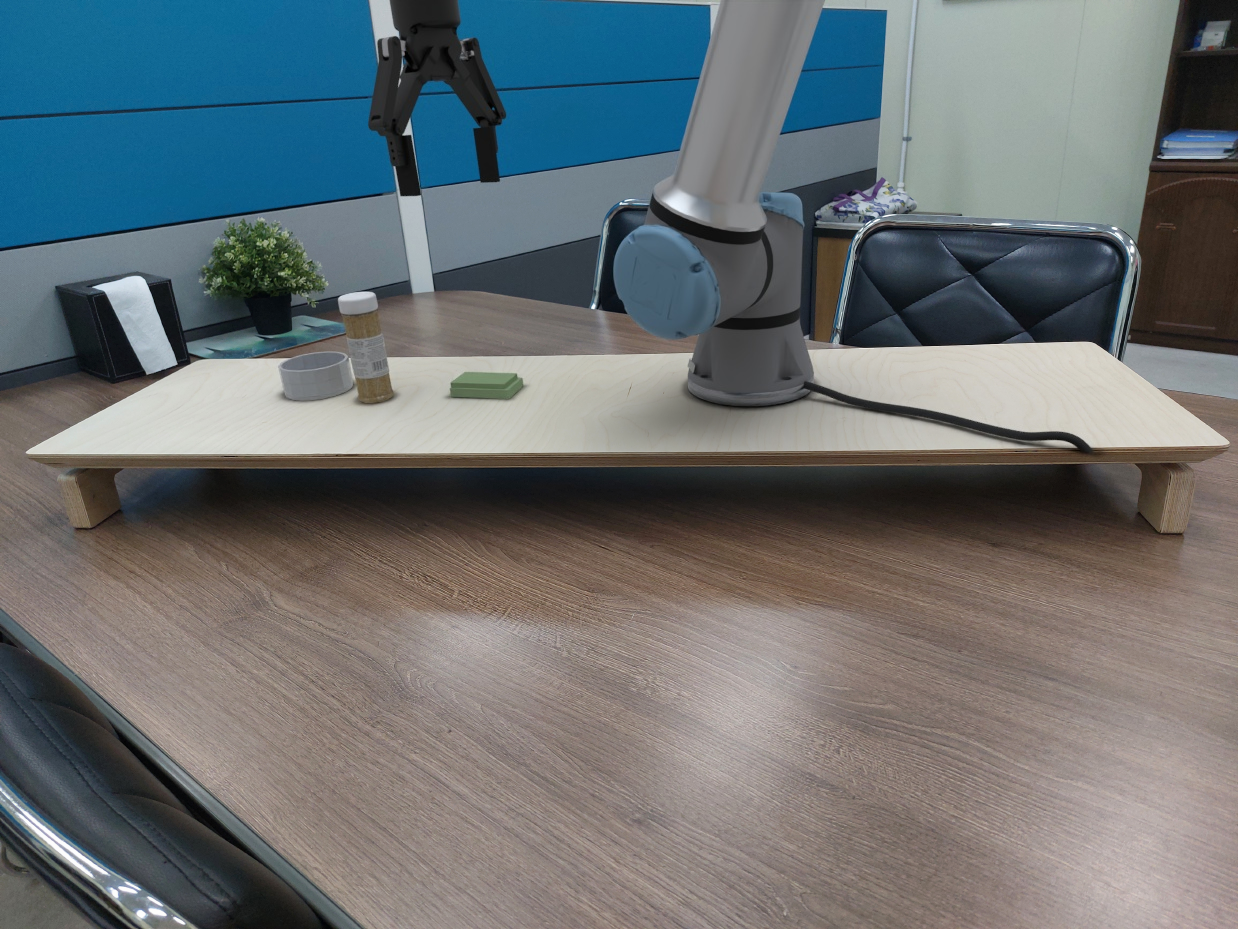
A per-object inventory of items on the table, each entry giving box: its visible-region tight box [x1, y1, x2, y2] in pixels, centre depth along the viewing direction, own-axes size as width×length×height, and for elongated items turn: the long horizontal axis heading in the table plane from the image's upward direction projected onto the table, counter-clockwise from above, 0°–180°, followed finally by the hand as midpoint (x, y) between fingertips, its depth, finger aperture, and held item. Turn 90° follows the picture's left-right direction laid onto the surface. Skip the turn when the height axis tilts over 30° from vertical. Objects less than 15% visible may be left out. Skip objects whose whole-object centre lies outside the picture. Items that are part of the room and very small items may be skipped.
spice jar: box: [337, 291, 395, 404], centre depth 105 cm, size 5×5×14 cm
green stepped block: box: [449, 371, 524, 400], centre depth 107 cm, size 8×5×2 cm, turn 75°
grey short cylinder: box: [277, 351, 354, 402], centre depth 111 cm, size 9×9×4 cm
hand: (452, 189), depth 101 cm, fingers open, 13 cm apart
